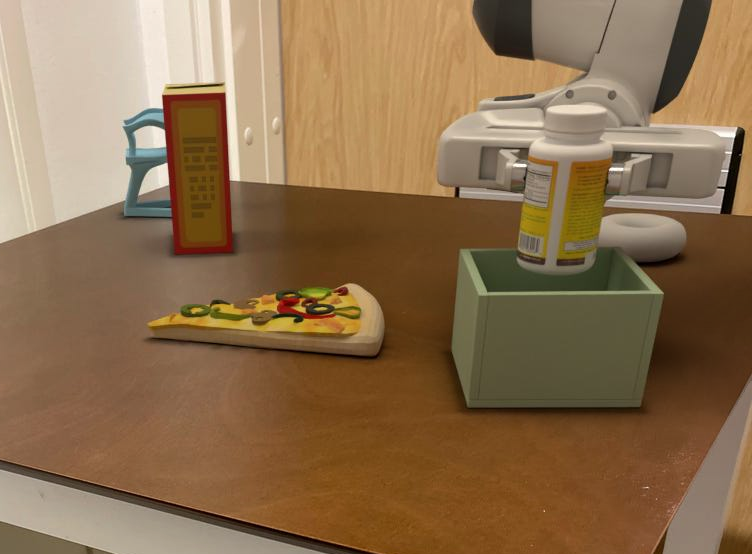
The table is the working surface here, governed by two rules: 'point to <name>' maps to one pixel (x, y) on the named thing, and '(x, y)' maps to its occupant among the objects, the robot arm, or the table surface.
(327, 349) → the pizza slice
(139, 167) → the chair
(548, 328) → the trash bin
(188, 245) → the baking soda box
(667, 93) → the robot arm
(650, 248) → the donut
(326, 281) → the table surface
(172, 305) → the table surface
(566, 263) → the supplement bottle
